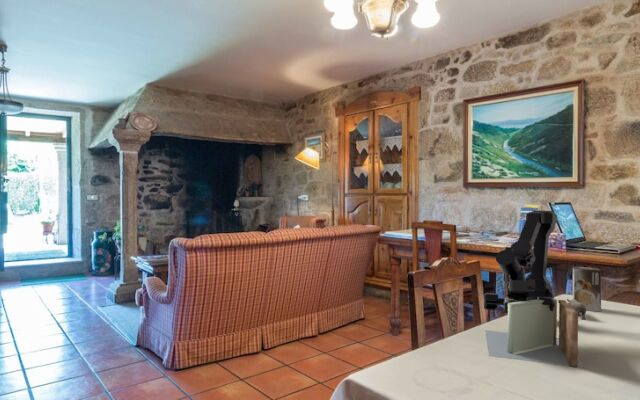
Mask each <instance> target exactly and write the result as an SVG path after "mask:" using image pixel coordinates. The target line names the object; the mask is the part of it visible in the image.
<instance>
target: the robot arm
mask: <svg viewBox="0 0 640 400" xmlns="http://www.w3.org/2000/svg"><path fill="white" fill-rule="evenodd" d="M557 223H558V215H557V213H555V212H554V211H553V210H536V209H535V210H533V211H528V212H527V213H526V214H525V222H524V224H523V226H522V229H521V232H520V234H519V237H518V240H517V241H515V242H514V243H511V245H510V246H506V247H505V248H504V249H502V250H500V251H499V252H498V253H497V254H496V255H495V261H496V263H497V264H498V266H499V269H500V271H501V272H502V273H503V274H504V279H505V291H506V297H504V298H500V297H499V294H498V293H492V292H491V293H490V292H486V293H484V294H483V309H484V310H489V311H496V310H497V309H498V306H503V313H504V314H507V315H508V303H512V302H520V301H529V300H537V299H539V300H544V301H543V303H542V304H543V305H550V307H549V308H550V310H551V311H552V312H553V308H554V300H553V299H555V297H554V295H553V292H552V289H551V284H550V282H549V280H548V278H547V276H546V275H547V266H548V265H547V264H548V253H549V252H548V250H549V241H550V235H551V234H552V233H553V232H554V230H555V228H556V224H557ZM523 267H525V268H531V271H530V272H531V273H530V275H528V277H526V274H525V273H526V271H525V268H523ZM552 298H553V299H552Z"/></svg>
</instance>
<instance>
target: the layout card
mask: <svg viewBox="0 0 640 400" xmlns="http://www.w3.org/2000/svg"><path fill="white" fill-rule="evenodd" d="M484 333H485V340H486V344H487V345H486V347H487V351H488V352H487V353H488V357H495V358H502V359H510V360H520V361H526V362H533V363H535V362H536V363H541V364H549V365H551V364H552V365H557V366H558V365H559V366H566V367H571V366H570V365H569V362H568V360H567V359H566V357H565V355H564V354H563V352H562V351H561V349H560V347H559V337H557V343H556V344H550V345H544V346H539V347H533V348H527V349H522V350H516V351H513V352H512V353H511V352H508V351H507V350H508V331H497V330H487V329H485V330H484ZM577 368H581V369H583V368H584V366H583V365H582V363H581V362H580V360H579V359H578V367H577ZM584 369H585V368H584Z"/></svg>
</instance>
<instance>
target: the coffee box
mask: <svg viewBox="0 0 640 400" xmlns="http://www.w3.org/2000/svg"><path fill="white" fill-rule="evenodd" d="M572 299H576V300H577V301H578V302H580V303H581V304H583V305H584V306H585V307H586V311H591V312H598V313H600V312H602V271H601V269H600V268H597V267H584V266H572Z"/></svg>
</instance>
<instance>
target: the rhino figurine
mask: <svg viewBox="0 0 640 400" xmlns="http://www.w3.org/2000/svg"><path fill="white" fill-rule="evenodd" d="M566 302H567V303H568V304H569V305H570V306H571V307H572V308H573V309H574V310H575V311H576V312H578V317H581V321H587V319H586V314H587V310H586V307H585V306H584V305H583V304H581V303H580V302H578V301H577V300H576V299H573V298H572V299H571V300H570V299H569V298H567V299H566Z"/></svg>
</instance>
